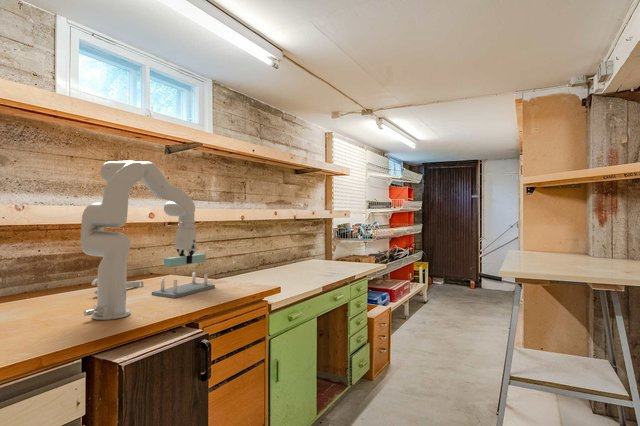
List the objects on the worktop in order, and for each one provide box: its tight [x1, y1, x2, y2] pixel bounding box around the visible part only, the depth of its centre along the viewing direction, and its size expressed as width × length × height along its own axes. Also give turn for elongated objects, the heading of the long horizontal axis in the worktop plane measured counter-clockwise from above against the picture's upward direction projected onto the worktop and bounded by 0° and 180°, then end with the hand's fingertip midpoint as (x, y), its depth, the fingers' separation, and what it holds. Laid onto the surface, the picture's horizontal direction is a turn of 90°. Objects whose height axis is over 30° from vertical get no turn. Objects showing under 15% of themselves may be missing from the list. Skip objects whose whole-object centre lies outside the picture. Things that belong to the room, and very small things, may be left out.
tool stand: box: [151, 271, 216, 299], centre depth 186 cm, size 28×14×8 cm, turn 156°
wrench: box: [90, 277, 145, 295], centre depth 182 cm, size 8×2×30 cm
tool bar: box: [163, 253, 206, 268], centre depth 186 cm, size 24×4×4 cm, turn 156°
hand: (185, 262), depth 186 cm, fingers closed on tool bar, 4 cm apart
